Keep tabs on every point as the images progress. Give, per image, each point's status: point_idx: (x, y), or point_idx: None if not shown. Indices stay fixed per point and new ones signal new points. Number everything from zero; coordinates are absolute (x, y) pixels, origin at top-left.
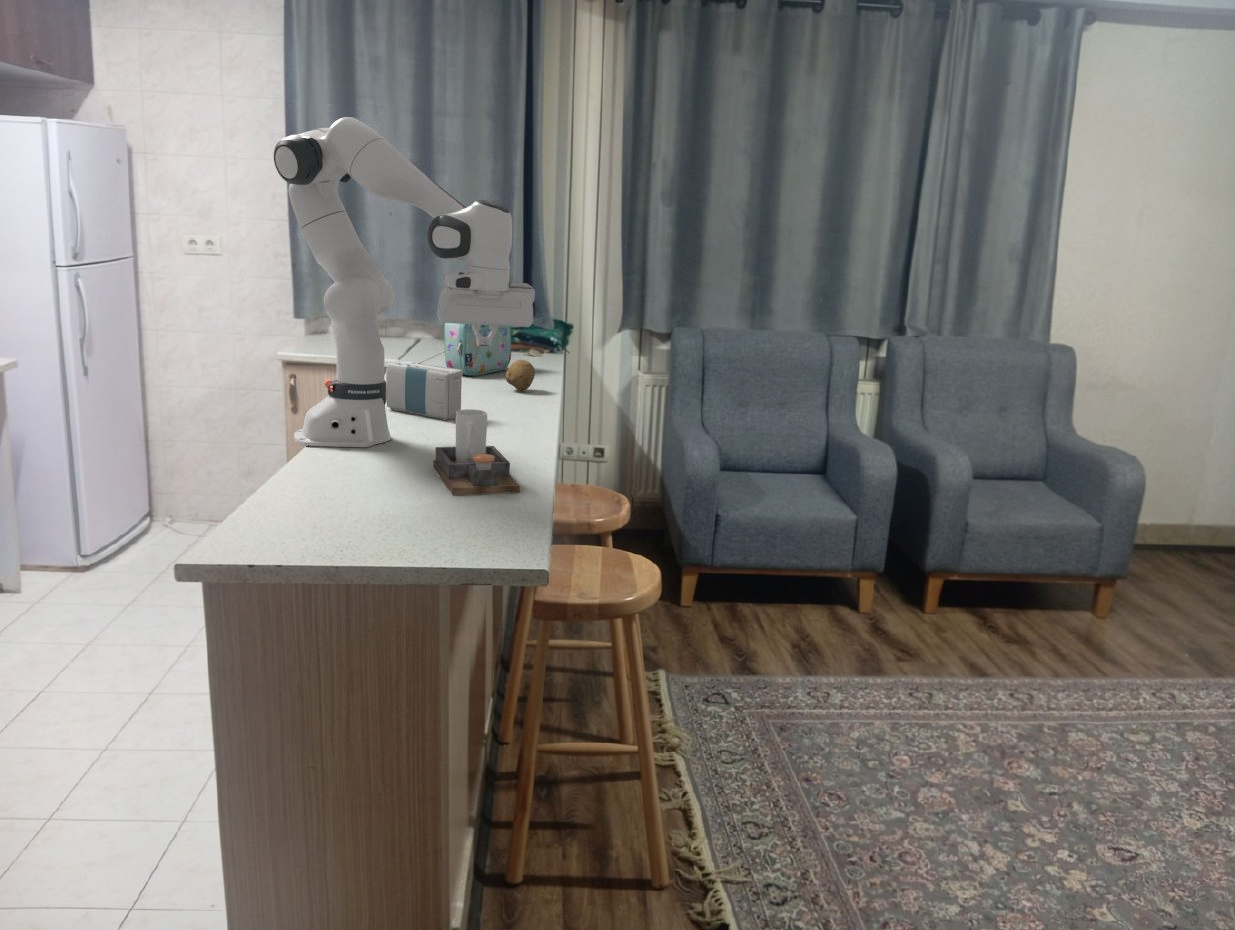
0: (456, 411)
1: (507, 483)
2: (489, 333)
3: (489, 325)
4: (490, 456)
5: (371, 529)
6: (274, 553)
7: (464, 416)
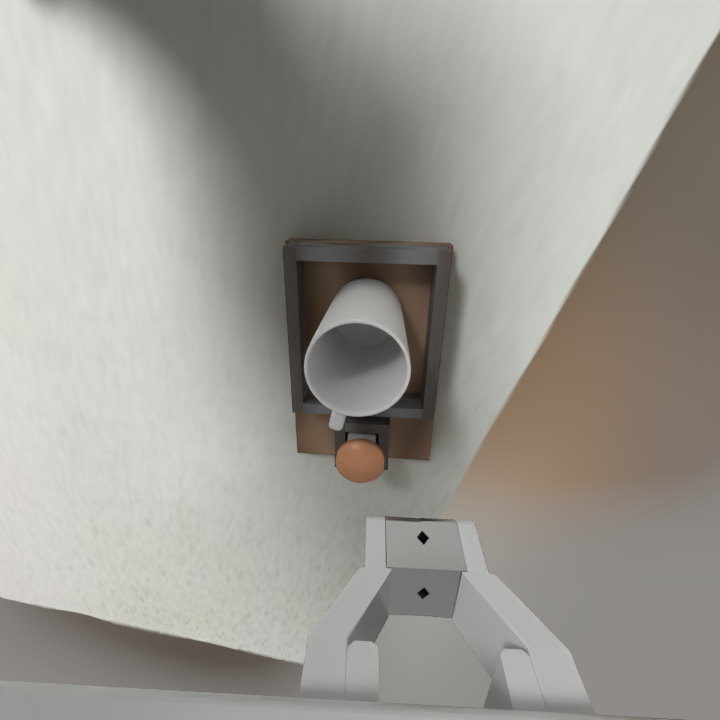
0: (308, 350)
1: (409, 444)
2: (487, 610)
3: (508, 699)
4: (375, 465)
5: (170, 551)
6: (69, 590)
7: (324, 402)
